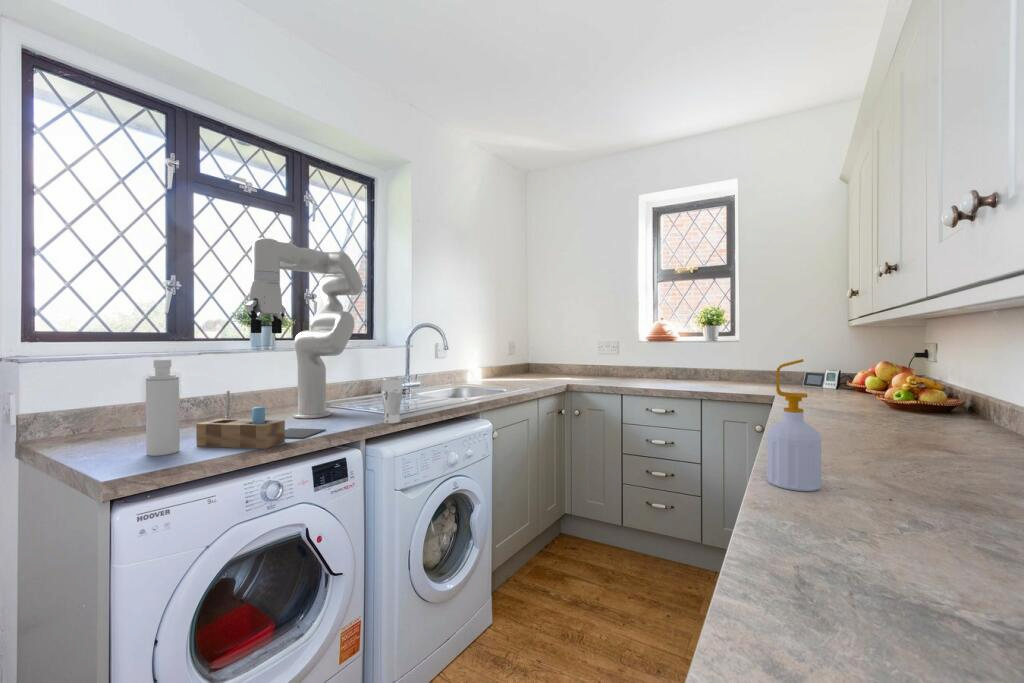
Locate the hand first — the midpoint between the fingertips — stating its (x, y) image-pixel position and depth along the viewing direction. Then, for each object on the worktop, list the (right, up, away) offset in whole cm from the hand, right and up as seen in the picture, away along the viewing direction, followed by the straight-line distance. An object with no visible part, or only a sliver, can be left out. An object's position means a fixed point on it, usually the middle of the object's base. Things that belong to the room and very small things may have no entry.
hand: (266, 333), depth 144 cm
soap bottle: (+132, -31, -54) cm, 146 cm away
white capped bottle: (-11, -31, -29) cm, 43 cm away
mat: (+12, -30, -6) cm, 33 cm away
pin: (+8, -31, -20) cm, 37 cm away
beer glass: (+36, -30, +13) cm, 49 cm away
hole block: (+3, -31, -19) cm, 36 cm away
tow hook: (-9, -31, -2) cm, 32 cm away
